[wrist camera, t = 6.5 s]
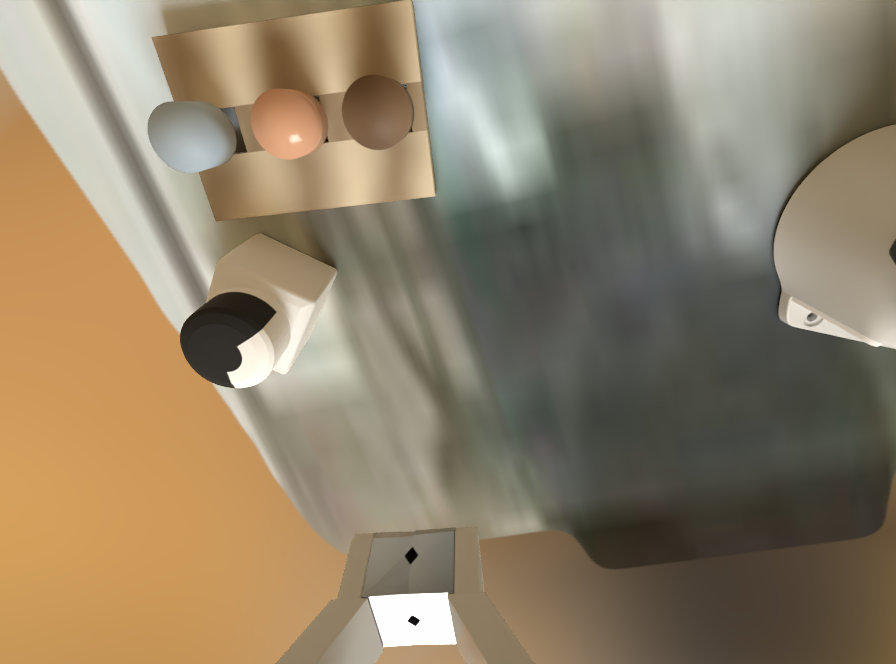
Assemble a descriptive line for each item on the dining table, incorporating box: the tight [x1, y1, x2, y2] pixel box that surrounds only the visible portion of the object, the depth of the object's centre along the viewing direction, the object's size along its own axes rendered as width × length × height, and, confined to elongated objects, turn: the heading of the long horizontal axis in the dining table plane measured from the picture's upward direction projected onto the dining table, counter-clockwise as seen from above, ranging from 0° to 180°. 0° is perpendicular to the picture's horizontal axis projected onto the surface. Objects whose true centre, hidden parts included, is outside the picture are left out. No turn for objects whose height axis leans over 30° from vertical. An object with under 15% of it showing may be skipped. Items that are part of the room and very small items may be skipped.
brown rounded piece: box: [342, 75, 414, 150], centre depth 29 cm, size 4×4×5 cm
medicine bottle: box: [180, 233, 337, 388], centre depth 34 cm, size 7×7×12 cm
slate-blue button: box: [148, 101, 237, 173], centre depth 30 cm, size 4×4×5 cm
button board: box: [152, 0, 436, 221], centre depth 32 cm, size 17×12×2 cm
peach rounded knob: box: [251, 89, 328, 160], centre depth 30 cm, size 4×4×5 cm
